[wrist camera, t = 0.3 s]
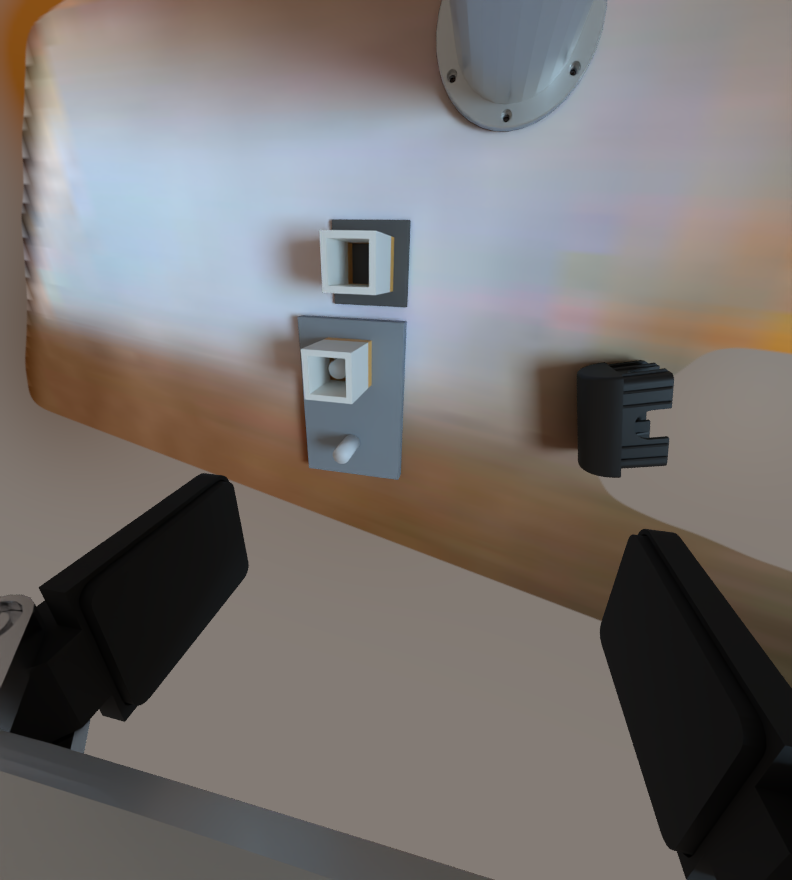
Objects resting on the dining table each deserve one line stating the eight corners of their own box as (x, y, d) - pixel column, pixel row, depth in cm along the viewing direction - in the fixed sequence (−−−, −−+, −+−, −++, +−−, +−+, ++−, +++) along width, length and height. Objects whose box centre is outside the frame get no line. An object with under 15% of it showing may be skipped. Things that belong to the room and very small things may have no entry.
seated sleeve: (328, 337, 42) (300, 348, 36) (371, 340, 41) (351, 352, 35) (330, 381, 44) (304, 399, 38) (371, 384, 43) (352, 404, 37)
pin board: (303, 315, 43) (280, 321, 38) (406, 321, 41) (395, 328, 36) (313, 462, 51) (295, 482, 46) (400, 474, 49) (391, 496, 44)
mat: (333, 220, 38) (331, 219, 38) (410, 220, 37) (409, 220, 37) (336, 303, 42) (334, 303, 41) (407, 306, 40) (406, 307, 40)
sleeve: (346, 236, 38) (319, 229, 32) (394, 237, 37) (375, 230, 31) (347, 289, 40) (322, 292, 34) (392, 291, 40) (375, 295, 33)
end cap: (569, 364, 39) (585, 381, 33) (647, 354, 37) (678, 370, 31) (571, 451, 43) (585, 480, 37) (642, 445, 41) (669, 475, 35)
